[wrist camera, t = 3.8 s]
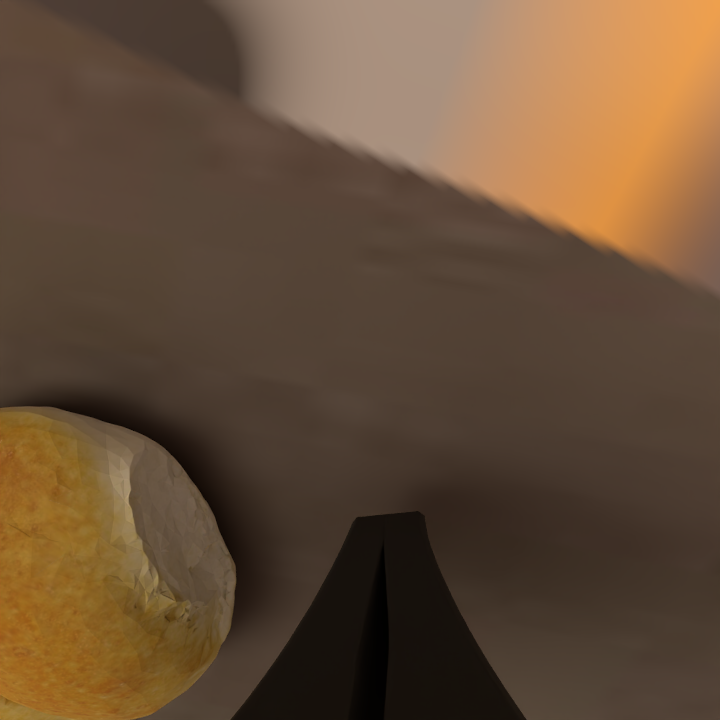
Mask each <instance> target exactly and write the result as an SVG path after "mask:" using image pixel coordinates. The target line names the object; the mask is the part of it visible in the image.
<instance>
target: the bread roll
mask: <svg viewBox="0 0 720 720" xmlns="http://www.w3.org/2000/svg"><path fill="white" fill-rule="evenodd" d="M235 587H236V566H235V564H234V561H233V559H232V557H231V555H230V553H229V551H228V549H227V547H226V545H225V542H224V540H223V538H222V536H221V534H220V532H219V529H218V526H217V523H216V519H215V516H214V514H213V512H212V510H211V508H210V507H209V505H208V503H207V501H206V500H205V499H204V498H203V496H202V495H201V493H200V491H199V489H198V488H197V487H196V485H195V484H194V483H193V482H192V480H191V479H190V478H189V476H188V475H187V473H186V472H185V471H184V469H183V468H182V467H181V465H180V464H179V463H178V462H177V461H176V459H175V458H174V457H173V456H172V455H171V454H170V453H169V452H168V451H167V450H166V449H165V448H164V447H162V446H161V445H159V444H158V443H156V442H155V441H153V440H151V439H149V438H148V437H146V436H144V435H142V434H140V433H137V432H135V431H132V430H130V429H127V428H124V427H122V426H118V425H114V424H110V423H106V422H103V421H101V420H98V419H95V418H92V417H88V416H84V415H80V414H76V413H72V412H68V411H65V410H61V409H58V408H54V407H34V406H22V407H5V408H0V720H131V719H137V718H140V717H144V716H147V715H150V714H152V713H154V712H156V711H157V710H159V709H160V708H162V707H163V706H165V705H166V704H168V703H169V702H170V701H172V700H173V699H175V698H176V697H178V696H179V695H180V694H182V693H183V692H185V691H186V690H188V689H189V688H190V687H191V686H192V685H193V684H194V683H195V682H196V681H197V680H198V679H199V678H200V677H201V675H202V674H203V673H204V672H205V671H206V670H207V669H208V667H209V666H210V665H211V663H212V662H213V661H214V660H215V658H216V656H217V654H218V651H219V649H220V647H221V644H222V643H223V642H224V641H225V639H226V637H227V635H228V632H229V630H230V628H231V621H232V614H233V608H234V599H235V596H234V591H235Z"/></svg>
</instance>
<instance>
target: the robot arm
mask: <svg viewBox="0 0 720 720" xmlns="http://www.w3.org/2000/svg"><path fill="white" fill-rule="evenodd" d="M231 720H526V718H525V717H524V715H523V714H522V712H521V711H520V710H519V708H518V707H517V705H516V704H515V702H514V701H513V699H512V698H511V696H510V695H509V693H508V692H507V690H506V689H505V687H504V686H503V684H502V683H501V681H500V680H499V678H498V676H497V675H496V673H495V672H494V670H493V669H492V667H491V666H490V664H489V662H488V661H487V659H486V657H485V656H484V654H483V652H482V651H481V649H480V647H479V646H478V644H477V642H476V640H475V639H474V637H473V635H472V633H471V632H470V630H469V628H468V626H467V624H466V622H465V621H464V619H463V617H462V615H461V613H460V611H459V609H458V607H457V605H456V603H455V602H454V600H453V597H452V595H451V593H450V591H449V589H448V587H447V585H446V582H445V580H444V578H443V576H442V574H441V571H440V569H439V567H438V564H437V562H436V559H435V556H434V554H433V551H432V548H431V545H430V542H429V539H428V535H427V528H426V522H425V516H424V515H423V514H421V513H420V512H418V511H416V512H406V513H396V514H386V515H376V516H366V517H357V518H356V520H355V521H354V522H353V523H352V526H351V528H350V530H349V533H348V535H347V537H346V539H345V541H344V544H343V546H342V548H341V550H340V552H339V554H338V556H337V558H336V560H335V562H334V564H333V566H332V568H331V570H330V572H329V573H328V575H327V577H326V579H325V581H324V582H323V584H322V586H321V588H320V590H319V592H318V593H317V595H316V597H315V599H314V601H313V602H312V604H311V606H310V607H309V609H308V611H307V612H306V614H305V616H304V617H303V619H302V620H301V622H300V623H299V625H298V627H297V628H296V630H295V631H294V633H293V635H292V636H291V638H290V639H289V641H288V643H287V644H286V646H285V647H284V649H283V650H282V652H281V653H280V655H279V656H278V657H277V659H276V660H275V662H274V663H273V665H272V666H271V668H270V669H269V670H268V672H267V673H266V675H265V676H264V677H263V679H262V680H261V681H260V683H259V684H258V685H257V687H256V688H255V689H254V691H253V692H252V693H251V695H250V696H249V697H248V699H247V700H246V701H245V703H244V704H243V705H242V706H241V707H240V709H239V710H238V711H237V712H236V714H235V715H234V716H233V717H232V719H231Z"/></svg>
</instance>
